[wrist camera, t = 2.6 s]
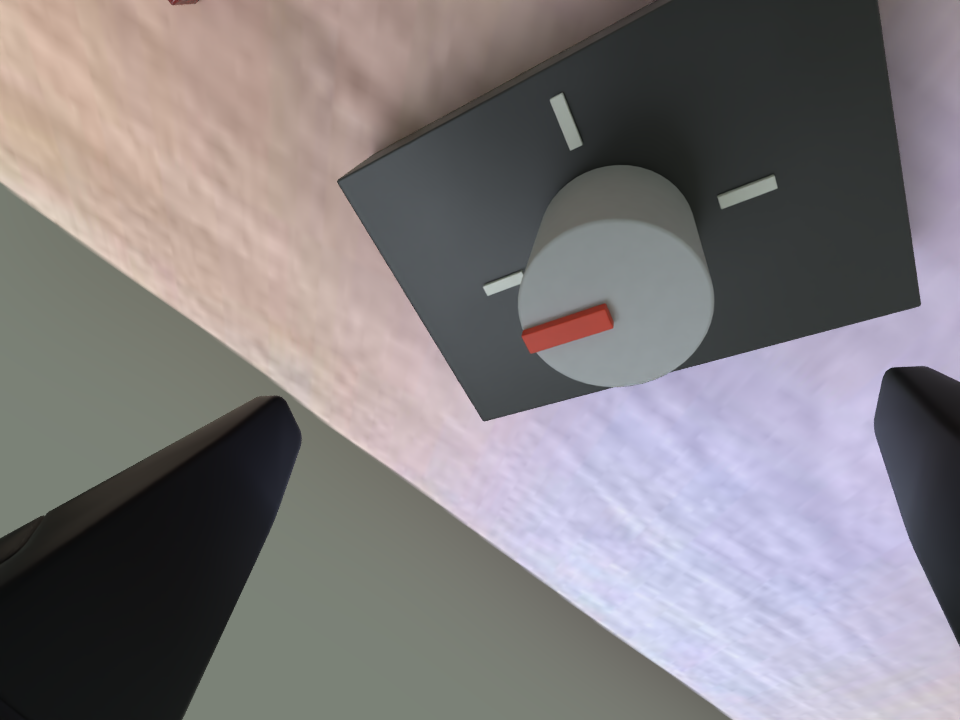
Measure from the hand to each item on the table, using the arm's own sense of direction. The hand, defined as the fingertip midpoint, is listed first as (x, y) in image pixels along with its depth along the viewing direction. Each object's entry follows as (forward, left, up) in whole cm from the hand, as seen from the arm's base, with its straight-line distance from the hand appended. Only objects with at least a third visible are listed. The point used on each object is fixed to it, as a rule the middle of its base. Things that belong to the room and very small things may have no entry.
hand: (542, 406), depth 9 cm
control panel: (-1, +1, -12) cm, 12 cm away
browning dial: (-1, +1, -9) cm, 9 cm away
